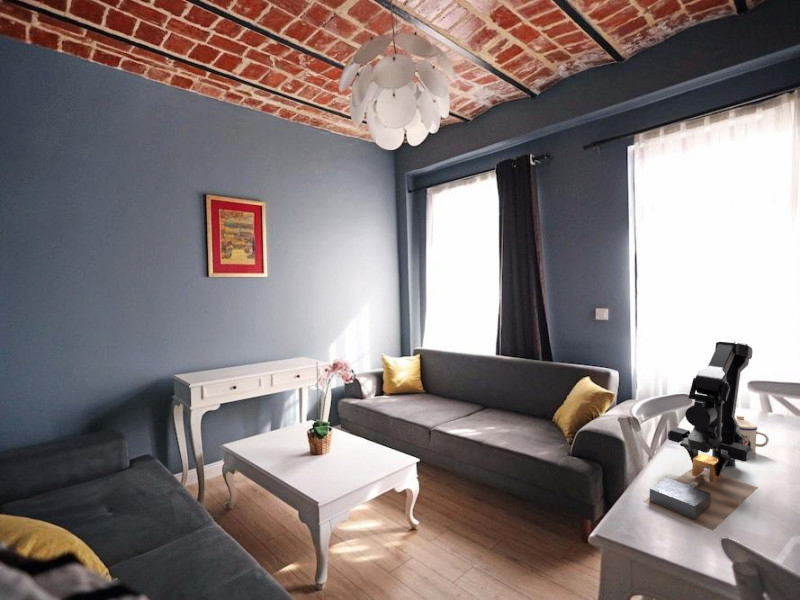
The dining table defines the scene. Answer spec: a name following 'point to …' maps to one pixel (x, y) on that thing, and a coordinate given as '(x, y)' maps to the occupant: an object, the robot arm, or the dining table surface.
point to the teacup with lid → (749, 433)
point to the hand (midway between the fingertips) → (706, 472)
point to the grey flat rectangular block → (681, 497)
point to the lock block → (706, 462)
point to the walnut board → (716, 498)
